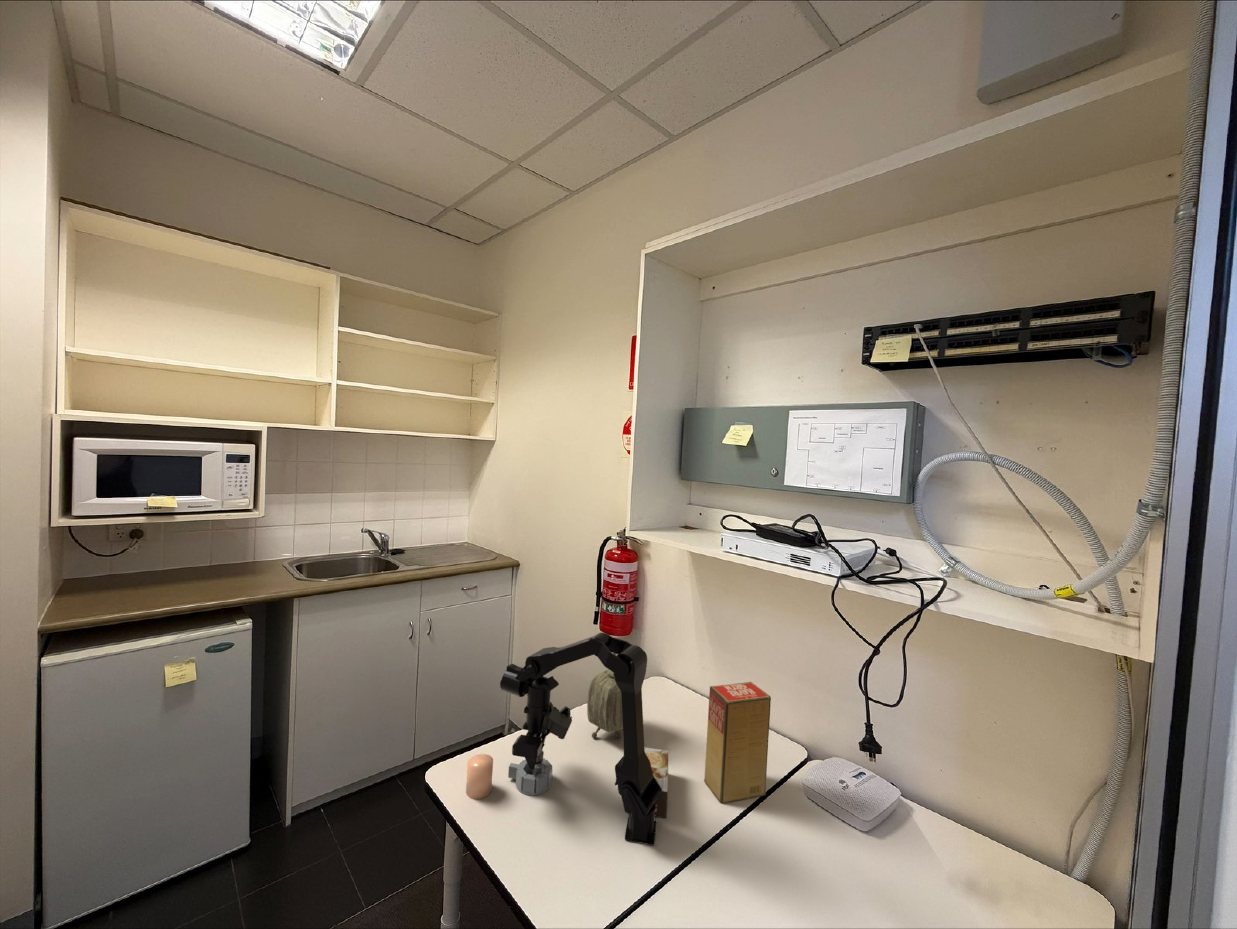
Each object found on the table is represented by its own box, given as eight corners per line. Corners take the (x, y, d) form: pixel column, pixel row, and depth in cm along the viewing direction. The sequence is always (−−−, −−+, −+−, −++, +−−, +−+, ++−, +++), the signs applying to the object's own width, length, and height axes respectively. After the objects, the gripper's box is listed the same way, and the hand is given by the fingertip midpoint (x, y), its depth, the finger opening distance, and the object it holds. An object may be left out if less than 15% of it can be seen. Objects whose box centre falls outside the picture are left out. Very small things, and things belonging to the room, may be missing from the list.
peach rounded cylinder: (485, 800, 113) (487, 771, 113) (461, 797, 114) (463, 767, 114) (495, 783, 119) (497, 756, 119) (472, 780, 120) (474, 752, 120)
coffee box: (633, 769, 128) (626, 813, 112) (635, 745, 128) (628, 785, 112) (668, 774, 127) (666, 819, 111) (669, 750, 126) (668, 791, 111)
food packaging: (746, 771, 129) (752, 680, 129) (767, 795, 120) (773, 697, 120) (702, 779, 125) (708, 685, 125) (720, 805, 116) (727, 703, 116)
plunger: (539, 787, 117) (541, 760, 117) (522, 784, 118) (524, 757, 118) (545, 775, 122) (546, 749, 122) (528, 772, 122) (530, 746, 122)
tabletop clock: (617, 719, 151) (622, 641, 151) (640, 731, 145) (645, 650, 145) (585, 738, 140) (590, 653, 140) (608, 752, 134) (613, 663, 134)
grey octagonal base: (545, 798, 115) (546, 782, 115) (502, 790, 117) (503, 775, 117) (555, 774, 124) (556, 760, 124) (515, 767, 125) (516, 753, 125)
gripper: (559, 726, 109) (555, 794, 109) (578, 688, 128) (575, 746, 128) (513, 720, 111) (509, 786, 111) (538, 683, 129) (535, 740, 130)
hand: (534, 763), depth 120 cm, fingers closed on plunger, 4 cm apart
